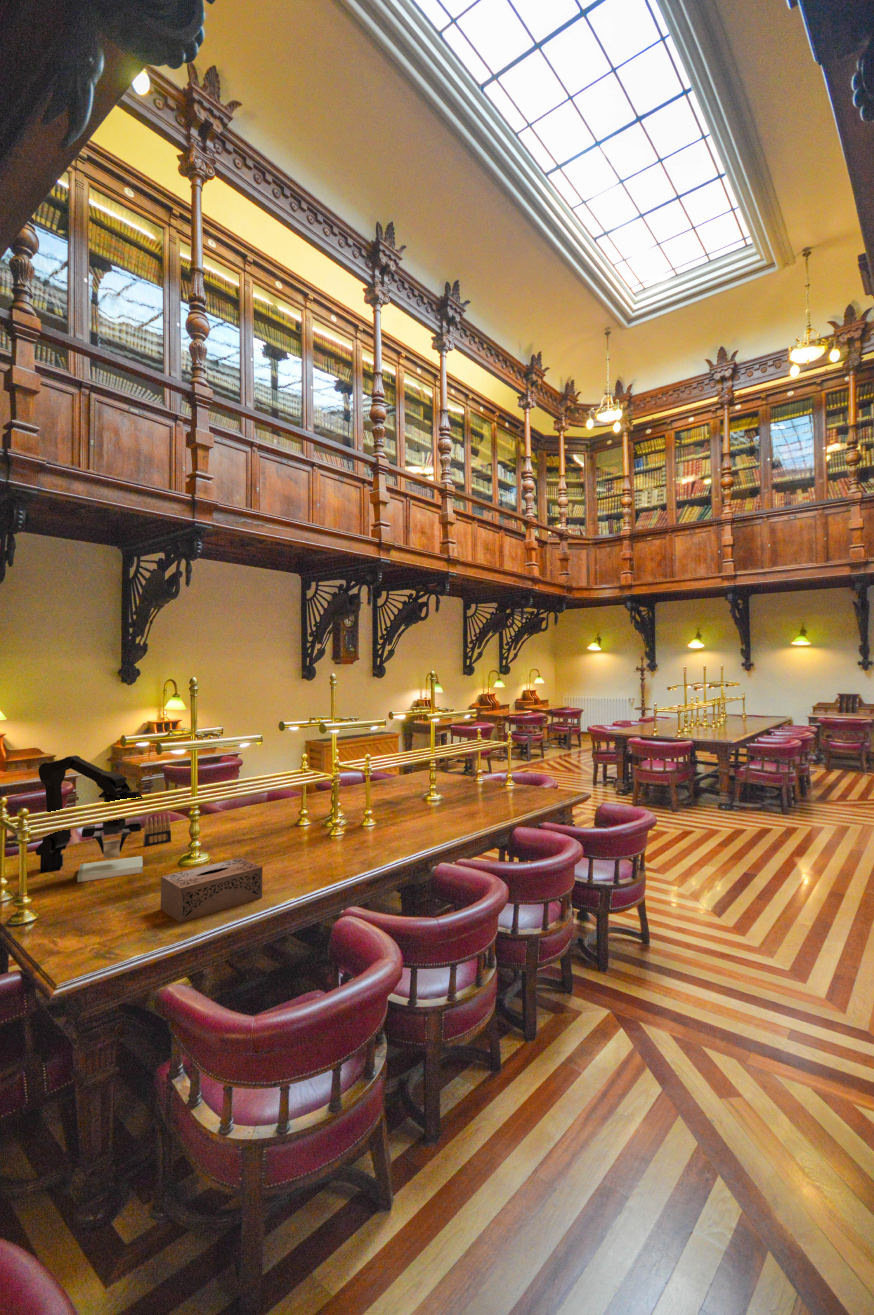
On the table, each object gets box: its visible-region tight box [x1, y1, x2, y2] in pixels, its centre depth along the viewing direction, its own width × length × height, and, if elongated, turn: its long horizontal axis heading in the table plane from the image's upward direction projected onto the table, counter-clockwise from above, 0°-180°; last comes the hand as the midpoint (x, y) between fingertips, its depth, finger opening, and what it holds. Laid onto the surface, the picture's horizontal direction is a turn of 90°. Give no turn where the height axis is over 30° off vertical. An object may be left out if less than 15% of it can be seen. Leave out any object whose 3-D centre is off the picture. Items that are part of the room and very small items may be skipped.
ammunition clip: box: [142, 813, 172, 847], centre depth 243 cm, size 11×2×12 cm, turn 133°
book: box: [76, 855, 144, 883], centre depth 207 cm, size 20×14×3 cm
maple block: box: [102, 839, 121, 860], centre depth 207 cm, size 5×5×5 cm
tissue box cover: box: [160, 857, 263, 923], centre depth 177 cm, size 26×14×10 cm, turn 136°
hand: (111, 852), depth 207 cm, fingers closed on maple block, 5 cm apart
